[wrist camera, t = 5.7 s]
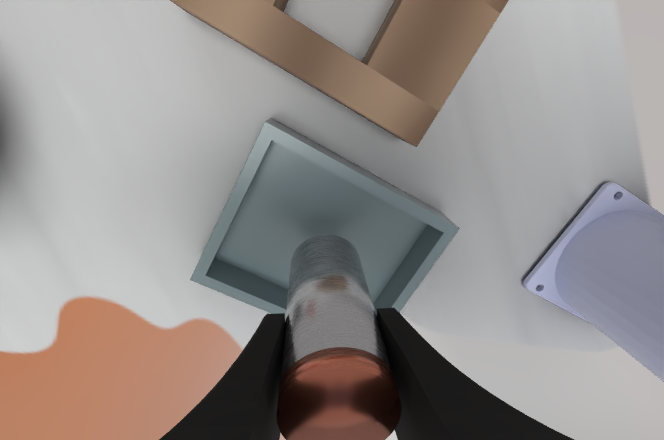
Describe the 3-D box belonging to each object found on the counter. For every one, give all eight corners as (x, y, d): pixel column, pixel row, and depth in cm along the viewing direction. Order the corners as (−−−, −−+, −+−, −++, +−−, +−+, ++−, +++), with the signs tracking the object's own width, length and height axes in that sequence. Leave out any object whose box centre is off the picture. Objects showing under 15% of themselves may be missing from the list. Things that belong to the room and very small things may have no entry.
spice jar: (358, 293, 16) (396, 453, 9) (292, 295, 16) (279, 460, 9) (361, 233, 15) (407, 365, 8) (289, 234, 15) (273, 371, 8)
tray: (442, 212, 20) (459, 228, 18) (363, 327, 23) (369, 353, 20) (271, 118, 18) (265, 121, 15) (203, 258, 20) (189, 279, 18)
